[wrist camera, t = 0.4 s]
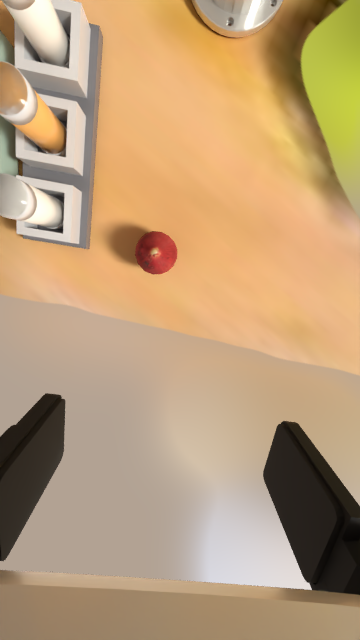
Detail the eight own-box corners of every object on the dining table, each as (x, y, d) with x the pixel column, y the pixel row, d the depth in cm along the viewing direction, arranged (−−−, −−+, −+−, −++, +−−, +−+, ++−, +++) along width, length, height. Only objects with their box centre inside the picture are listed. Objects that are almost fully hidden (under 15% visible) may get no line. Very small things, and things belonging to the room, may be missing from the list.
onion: (157, 280, 37) (152, 286, 30) (131, 252, 36) (120, 251, 29) (184, 255, 37) (187, 254, 29) (158, 225, 35) (154, 216, 28)
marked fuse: (41, 120, 30) (-20, 56, 21) (74, 127, 31) (28, 66, 21) (41, 156, 31) (-18, 110, 22) (72, 162, 32) (28, 120, 22)
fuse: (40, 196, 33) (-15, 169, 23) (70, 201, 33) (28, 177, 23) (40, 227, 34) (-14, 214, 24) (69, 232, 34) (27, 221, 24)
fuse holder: (29, 20, 29) (4, -22, 25) (102, 37, 30) (90, -1, 25) (29, 239, 35) (8, 236, 31) (89, 249, 36) (77, 247, 32)
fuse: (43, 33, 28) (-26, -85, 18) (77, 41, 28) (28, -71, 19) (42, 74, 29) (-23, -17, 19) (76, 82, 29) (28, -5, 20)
